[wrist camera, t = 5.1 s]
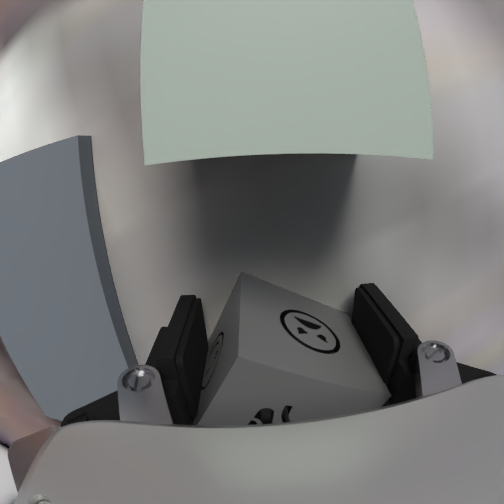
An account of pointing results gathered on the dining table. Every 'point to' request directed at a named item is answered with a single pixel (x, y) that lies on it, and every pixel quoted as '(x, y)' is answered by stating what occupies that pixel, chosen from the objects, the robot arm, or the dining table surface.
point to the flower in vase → (6, 479)
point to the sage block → (283, 79)
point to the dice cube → (284, 361)
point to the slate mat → (58, 279)
